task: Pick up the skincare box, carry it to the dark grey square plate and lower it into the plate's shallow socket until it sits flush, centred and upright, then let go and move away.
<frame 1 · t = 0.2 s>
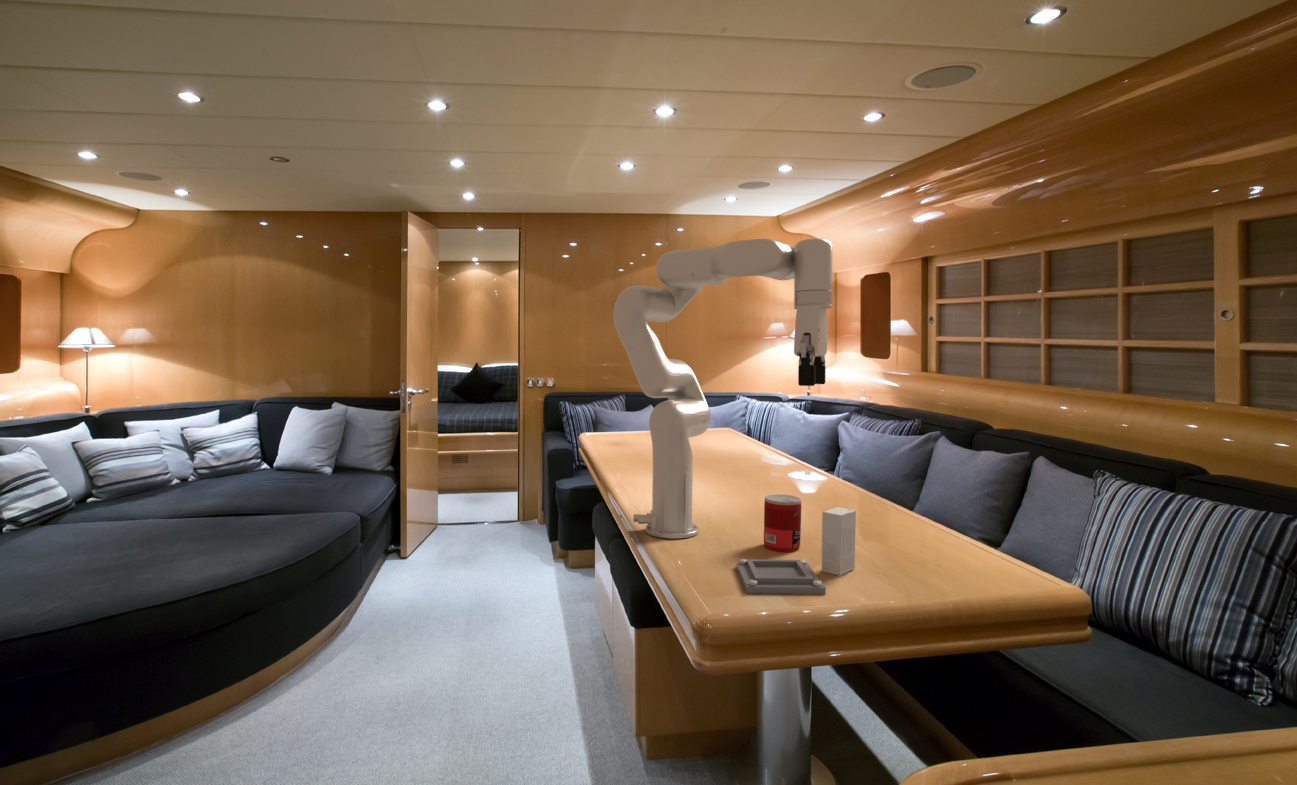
hand: (812, 384, 132), 36 cm above the table, tool pointing down, fingers open, 9 cm apart
skincare box: (837, 571, 127), on the table
plate: (778, 580, 121), on the table
canned food: (781, 547, 142), on the table
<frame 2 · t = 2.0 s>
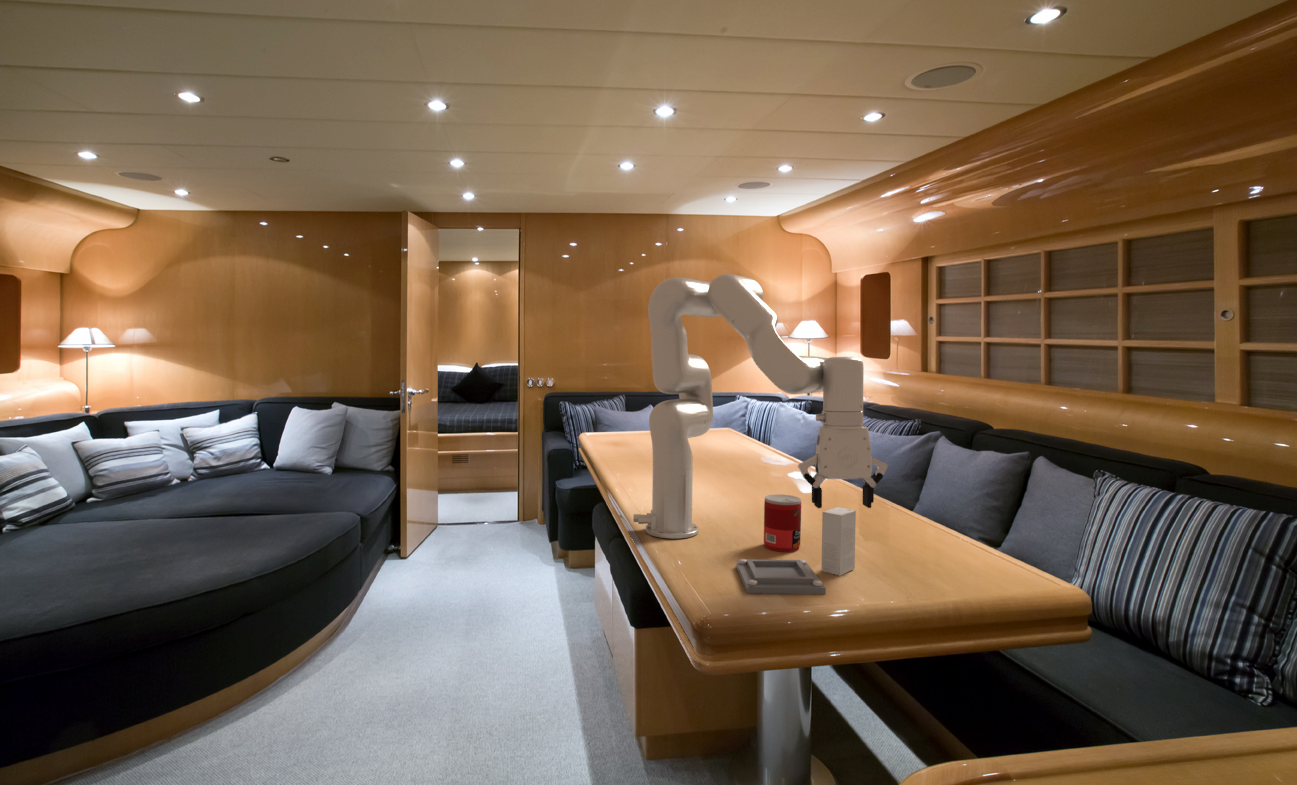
hand: (842, 506, 126), 13 cm above the table, tool pointing down, fingers open, 9 cm apart
nothing on the table moved.
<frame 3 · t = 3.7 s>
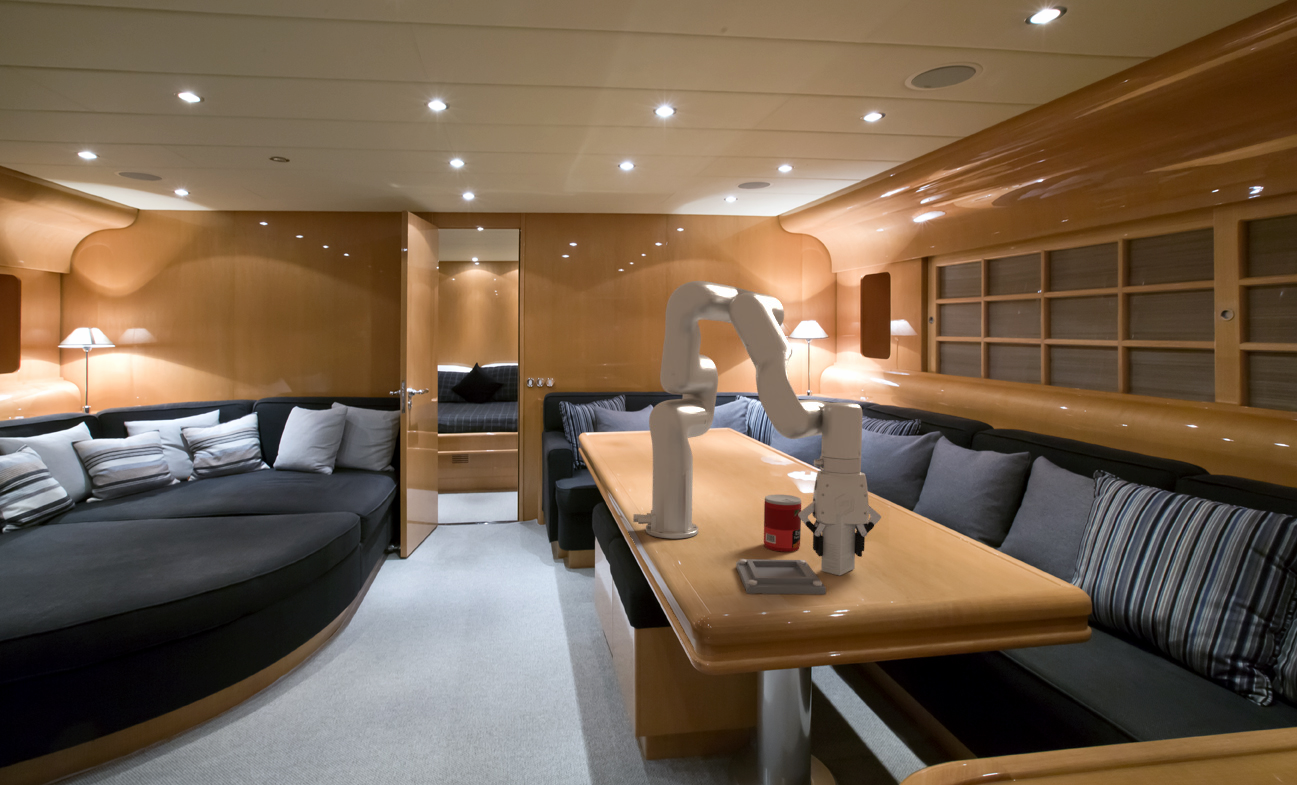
hand: (838, 553, 127), 3 cm above the table, tool pointing down, fingers closed on skincare box, 7 cm apart
skincare box: (837, 571, 127), on the table, touching gripper
everything else where it was.
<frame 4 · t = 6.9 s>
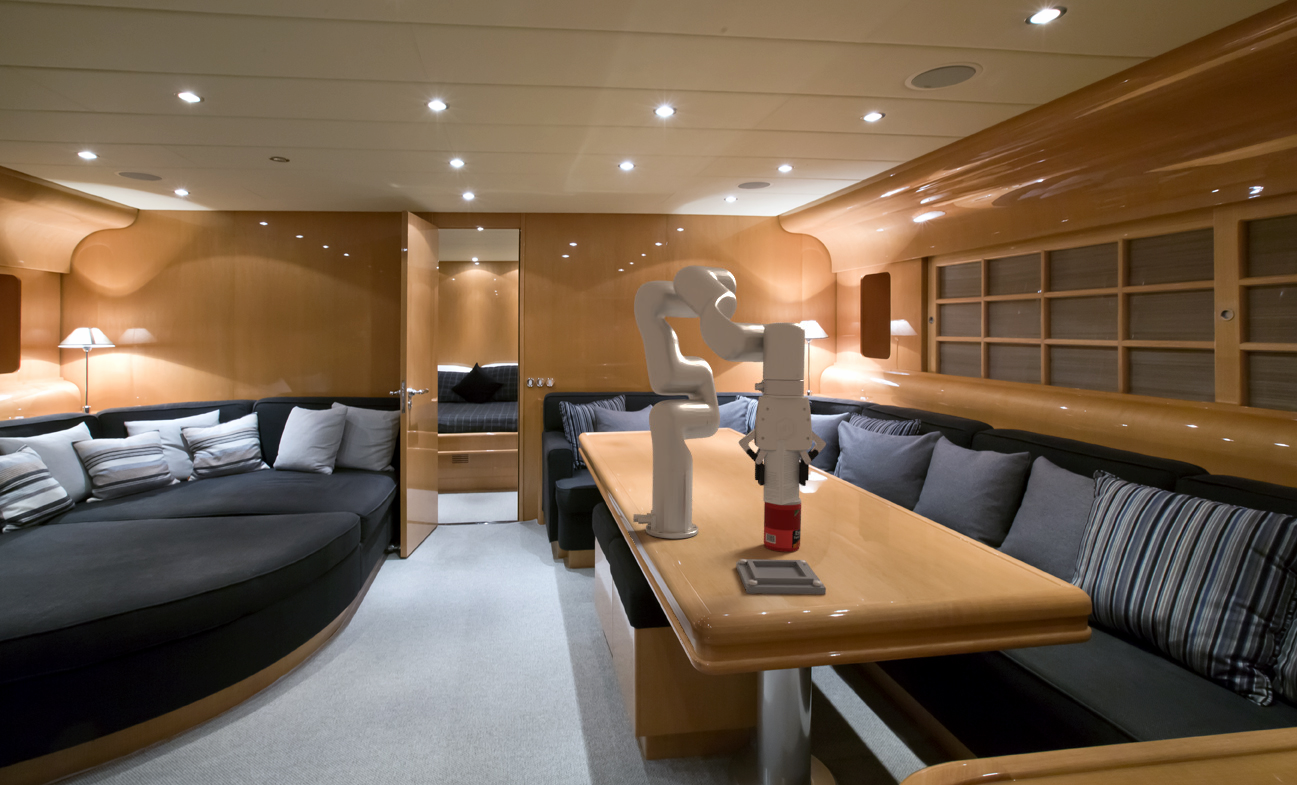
hand: (781, 483, 120), 18 cm above the table, tool pointing down, fingers closed on skincare box, 7 cm apart
skincare box: (780, 502, 120), point 15 cm above the table, touching gripper
everything else where it was.
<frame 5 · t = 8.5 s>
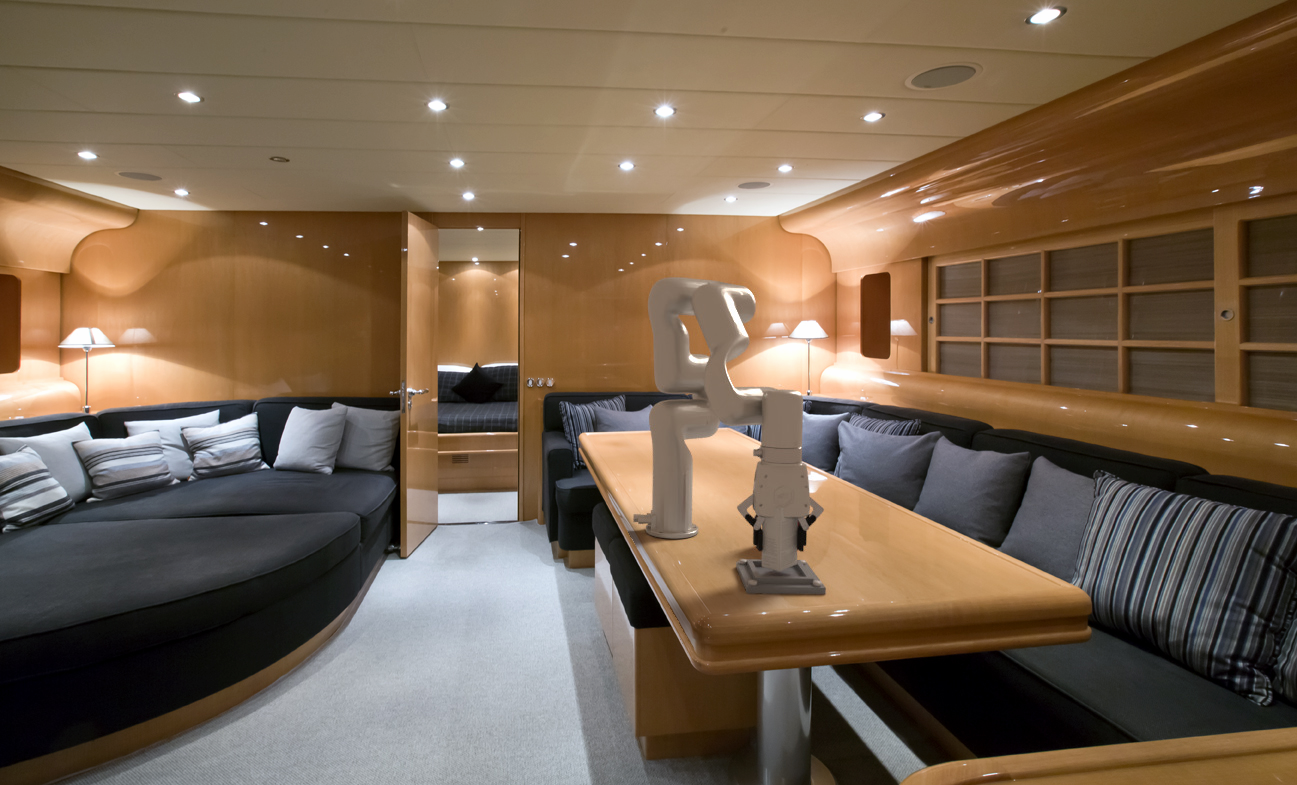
hand: (779, 548, 121), 6 cm above the table, tool pointing down, fingers closed on skincare box, 7 cm apart
skincare box: (778, 567, 121), point 3 cm above the table, touching gripper
everything else where it was.
when the fingers open (5 cm above the table, at t = 9.9 s): skincare box stays where it is, resting on plate.
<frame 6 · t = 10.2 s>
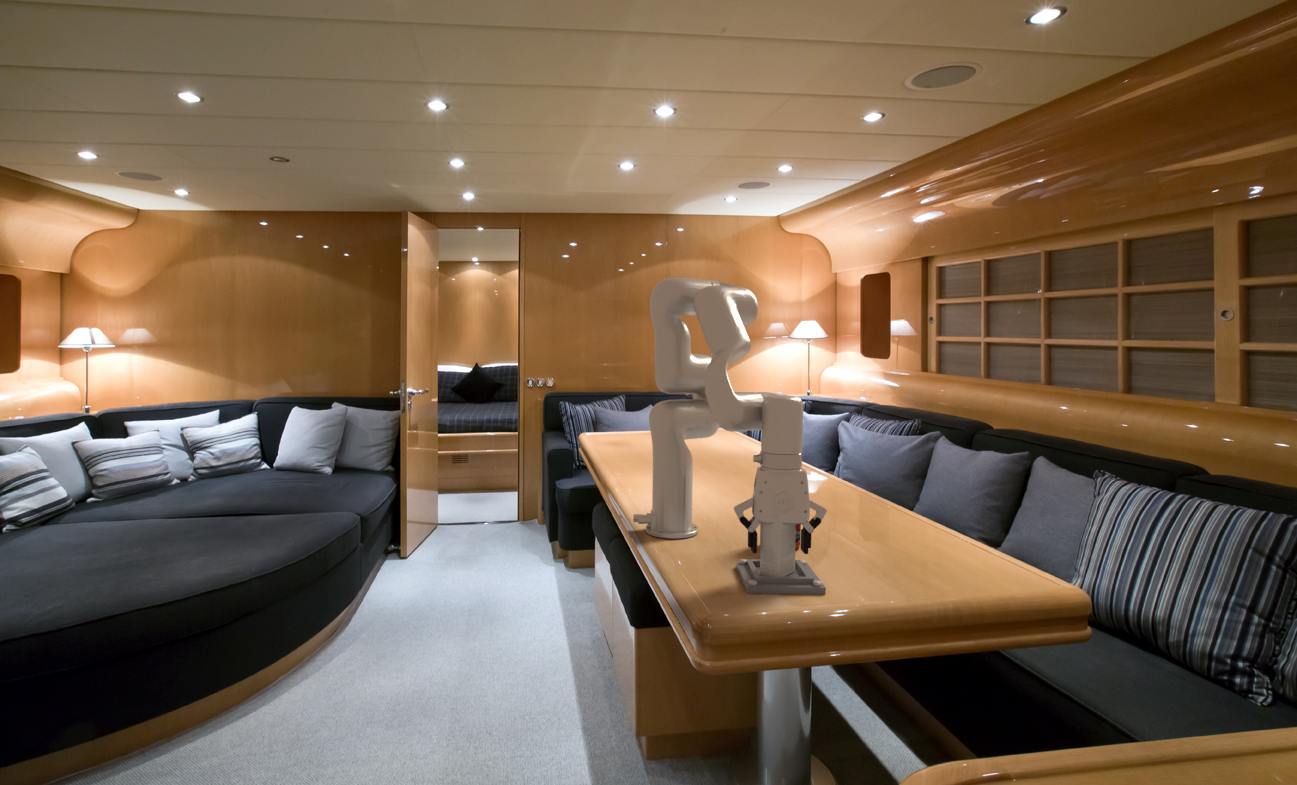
hand: (779, 551, 121), 5 cm above the table, tool pointing down, fingers open, 9 cm apart
skincare box: (777, 574, 121), point 1 cm above the table, touching plate
everything else where it was.
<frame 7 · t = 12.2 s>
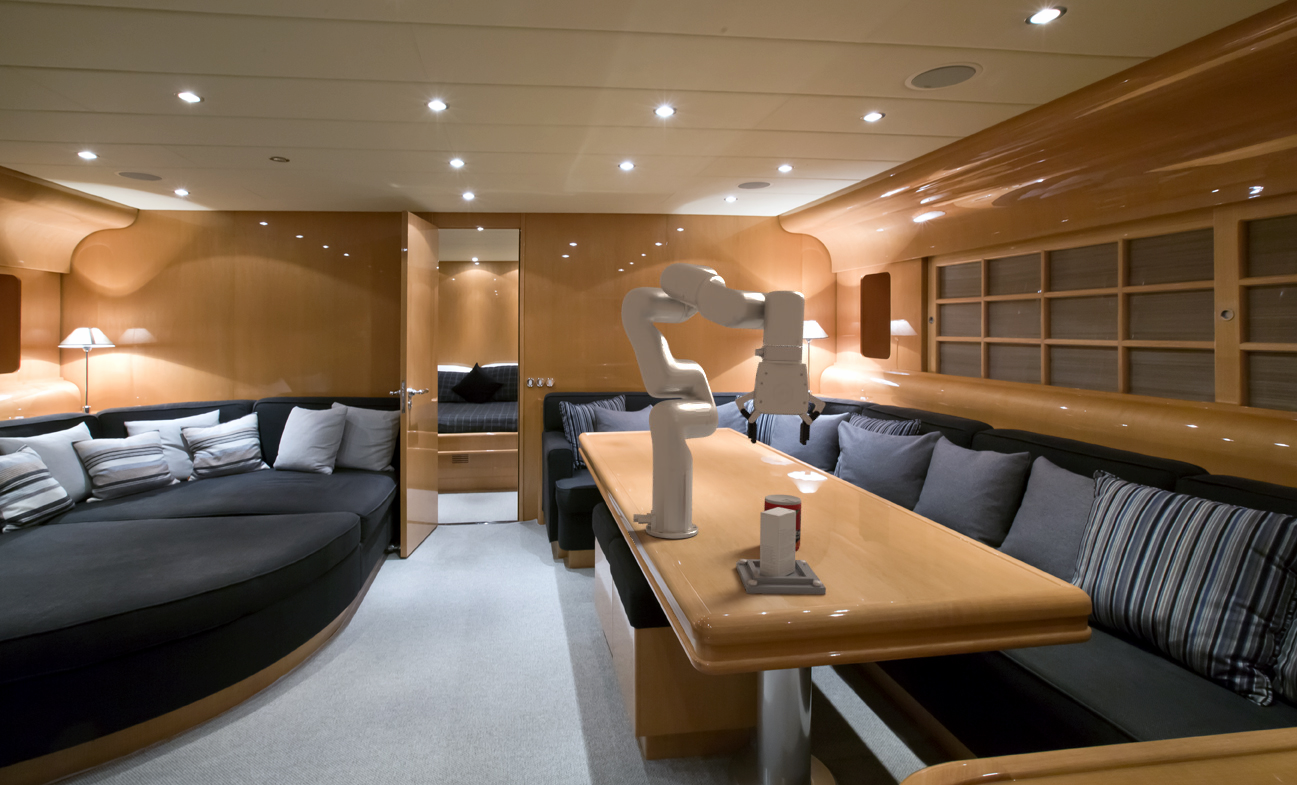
hand: (778, 443, 125), 25 cm above the table, tool pointing down, fingers open, 9 cm apart
nothing on the table moved.
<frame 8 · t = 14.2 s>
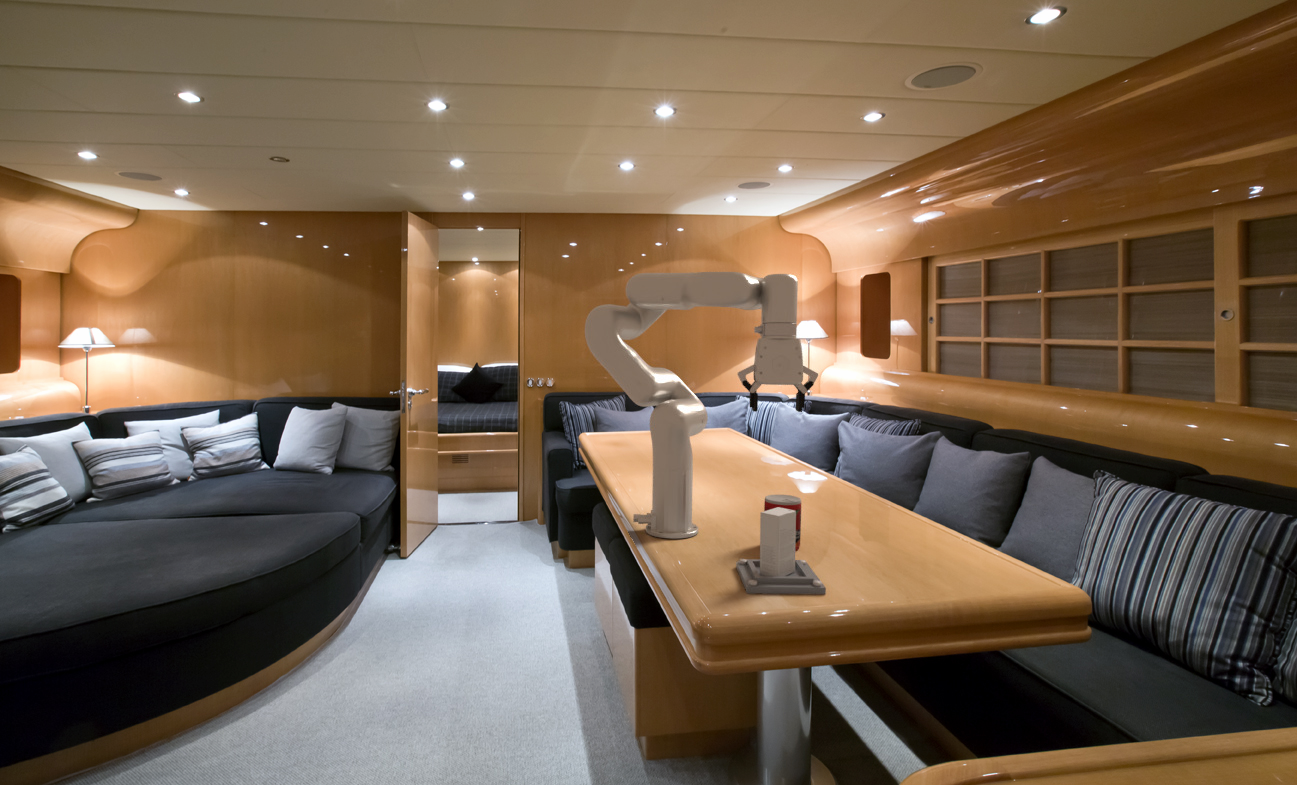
hand: (776, 411, 139), 30 cm above the table, tool pointing down, fingers open, 9 cm apart
nothing on the table moved.
at the end: skincare box 0.3 cm off-centre on the plate, point 1.0 cm above the plate's base; skincare box tilted 0°; the gripper is holding nothing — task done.
